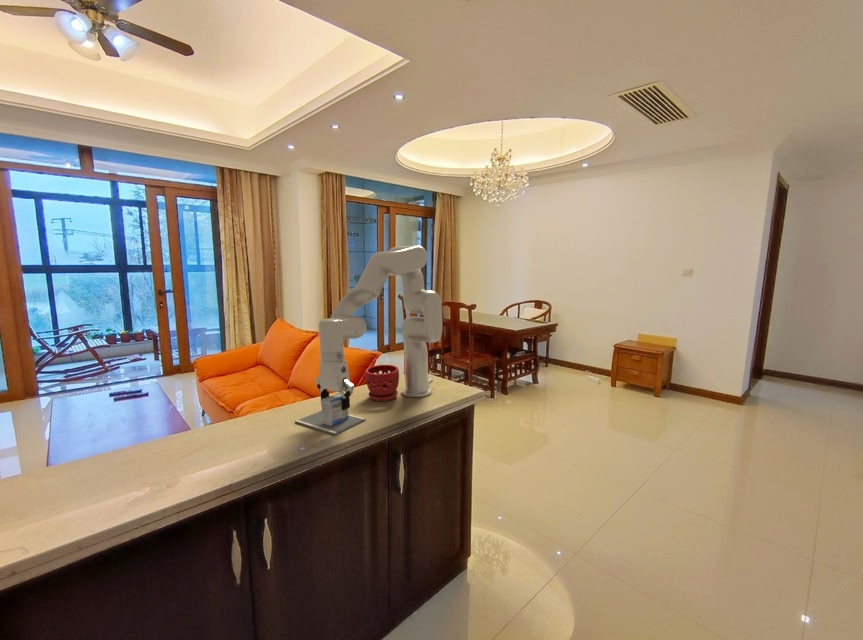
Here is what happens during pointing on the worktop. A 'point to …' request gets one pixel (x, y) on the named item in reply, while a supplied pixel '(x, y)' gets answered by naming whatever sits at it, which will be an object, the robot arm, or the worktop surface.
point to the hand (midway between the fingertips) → (335, 406)
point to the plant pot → (382, 382)
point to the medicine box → (333, 410)
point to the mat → (317, 423)
